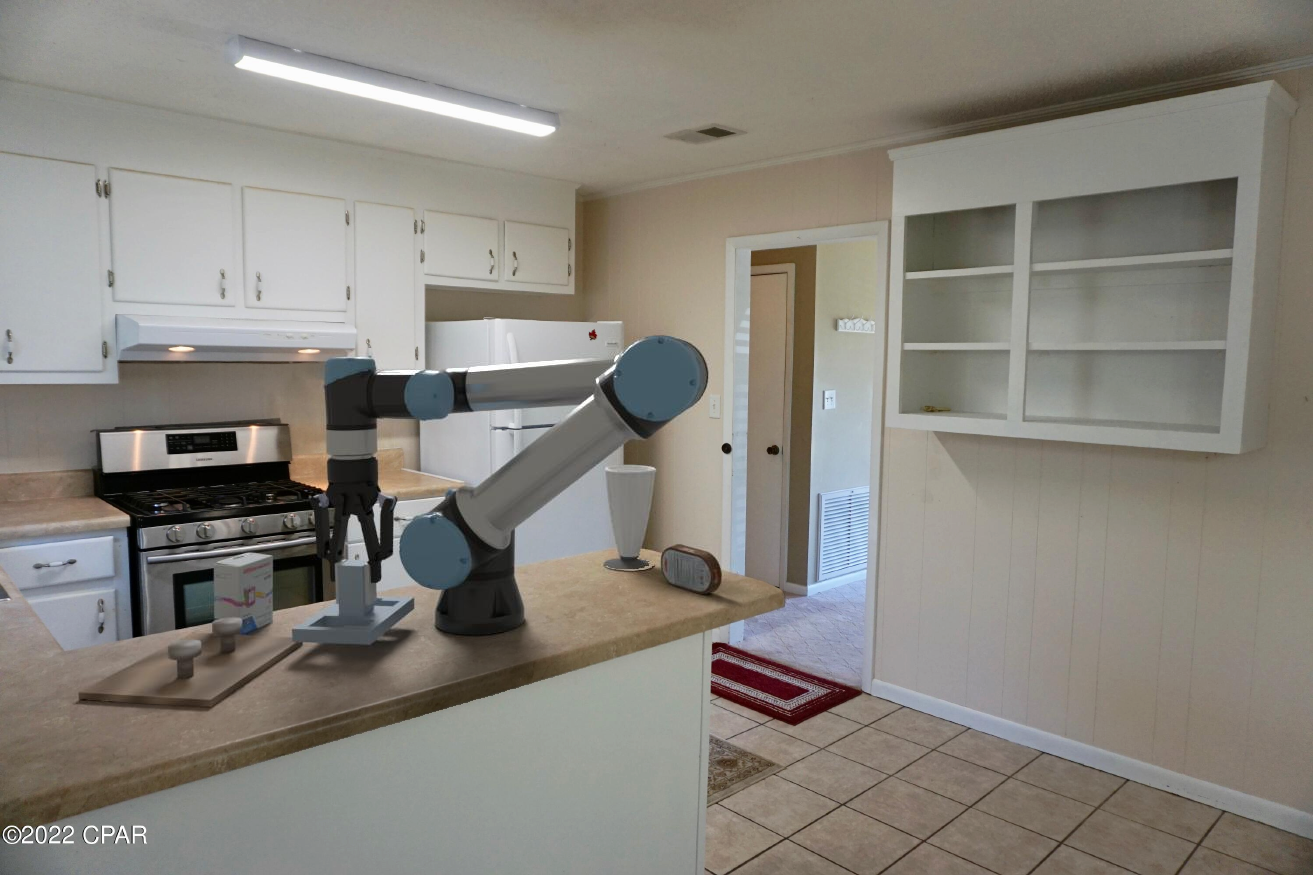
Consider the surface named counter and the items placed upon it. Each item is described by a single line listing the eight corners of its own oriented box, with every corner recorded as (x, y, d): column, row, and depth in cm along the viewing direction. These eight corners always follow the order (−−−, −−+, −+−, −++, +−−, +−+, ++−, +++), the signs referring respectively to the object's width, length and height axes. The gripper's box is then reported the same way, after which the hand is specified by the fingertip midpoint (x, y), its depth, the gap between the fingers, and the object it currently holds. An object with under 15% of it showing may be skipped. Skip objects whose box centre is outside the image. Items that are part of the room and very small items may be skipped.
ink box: (240, 637, 135) (238, 565, 134) (213, 635, 136) (211, 562, 135) (275, 621, 143) (273, 553, 142) (249, 618, 144) (247, 550, 143)
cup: (661, 569, 183) (664, 471, 181) (610, 573, 179) (612, 472, 177) (645, 557, 194) (647, 464, 192) (597, 560, 190) (598, 465, 188)
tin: (722, 596, 164) (723, 553, 164) (711, 599, 162) (712, 556, 161) (668, 580, 175) (669, 540, 174) (657, 582, 173) (658, 542, 172)
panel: (414, 608, 143) (413, 550, 142) (370, 644, 125) (368, 578, 124) (345, 606, 144) (344, 548, 143) (292, 641, 126) (290, 576, 125)
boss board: (302, 643, 133) (302, 609, 132) (210, 707, 109) (209, 665, 108) (193, 638, 134) (192, 604, 133) (78, 699, 110) (76, 658, 110)
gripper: (414, 454, 135) (417, 596, 137) (311, 452, 136) (316, 593, 139) (396, 459, 128) (399, 610, 130) (287, 458, 129) (292, 607, 131)
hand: (356, 601), depth 134 cm, fingers closed on panel, 4 cm apart
